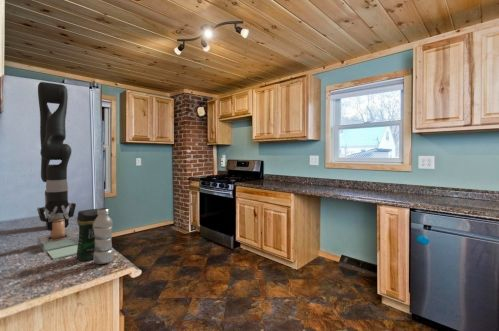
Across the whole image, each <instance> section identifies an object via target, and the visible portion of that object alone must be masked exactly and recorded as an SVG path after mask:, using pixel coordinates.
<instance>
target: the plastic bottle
mask: <svg viewBox="0 0 499 331" xmlns="http://www.w3.org/2000/svg"><path fill="white" fill-rule="evenodd" d="M96 209H97V215H98V216H97V217H96V219H95V220H94V222H93V230H94V237H95V248H94V254H93V259H92V260H93V262H94V263H95V264H97V265H103V264H104V265H105V264H108V263H111V262H112V261H113V259H114V250H113V243H112V233H113V225H114V223H113V222H114V221H113V219H112V218H111V217H110V216H109V214H110V212H109V211H110V210H109V208H108V207H100V209H99V208H96Z"/></svg>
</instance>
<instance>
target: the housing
mask: <svg viewBox="0 0 499 331" xmlns="http://www.w3.org/2000/svg"><path fill="white" fill-rule="evenodd" d="M36 239H37V246H38V248H39V249H40V250H41V251H42V252H43V253H47V251H51V250H56V249H61V248H65V247H70V246H75V245H76V246H78V240H79V236H77V235H76V234H75V233H73V232H72V231H71V230H69V231H68V230H67V231H65V238H61V239H51V234H47V235H41V236H37V238H36Z"/></svg>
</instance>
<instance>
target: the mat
mask: <svg viewBox="0 0 499 331" xmlns="http://www.w3.org/2000/svg"><path fill="white" fill-rule="evenodd" d="M77 248H78V245H75V246H70V247H65V248H61V249H56V250H51V251H47V252H46V253H47V254H48V255H49V256H50V258H51V259H52V260H56V259H62V258H65V257H71V256H75V255H77Z"/></svg>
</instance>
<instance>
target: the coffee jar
mask: <svg viewBox="0 0 499 331" xmlns="http://www.w3.org/2000/svg"><path fill="white" fill-rule="evenodd" d="M100 208H101V207H100ZM100 208H93V209H92V208H91V209H85V210H79V211H78V213H77V218H76V224H77V226H78V245H77V246H78V248H77V254H76V258H77V259H78V260H79V261H90V260H93V254H94V248H95V237H94V230H93V222H94V220H95V219H96V217H97V216H98V215H97V209H100Z"/></svg>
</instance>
